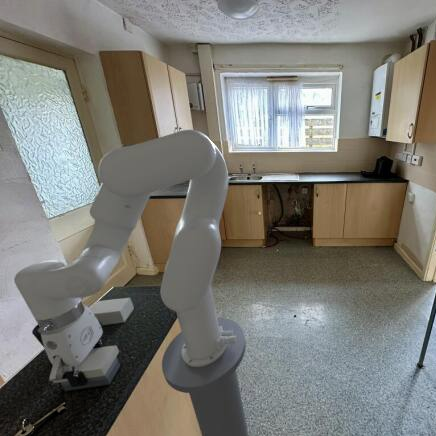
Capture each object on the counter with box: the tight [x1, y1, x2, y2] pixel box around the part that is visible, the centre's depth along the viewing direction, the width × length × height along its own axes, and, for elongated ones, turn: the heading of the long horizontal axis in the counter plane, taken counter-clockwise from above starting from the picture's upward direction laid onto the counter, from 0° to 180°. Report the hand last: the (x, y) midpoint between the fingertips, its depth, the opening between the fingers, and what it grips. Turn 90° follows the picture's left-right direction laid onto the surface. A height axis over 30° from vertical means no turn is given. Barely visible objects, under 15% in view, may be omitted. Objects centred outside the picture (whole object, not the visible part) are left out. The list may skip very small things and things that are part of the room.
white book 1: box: [88, 297, 133, 320], centre depth 78 cm, size 11×6×2 cm, turn 97°
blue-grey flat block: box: [59, 356, 119, 386], centre depth 59 cm, size 10×5×2 cm, turn 97°
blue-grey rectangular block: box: [61, 360, 121, 392], centre depth 60 cm, size 10×5×2 cm, turn 97°
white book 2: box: [98, 303, 135, 326], centre depth 79 cm, size 11×6×2 cm, turn 97°
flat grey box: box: [52, 345, 120, 384], centre depth 58 cm, size 11×6×2 cm, turn 98°
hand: (90, 369), depth 59 cm, fingers closed on flat grey box, 6 cm apart
